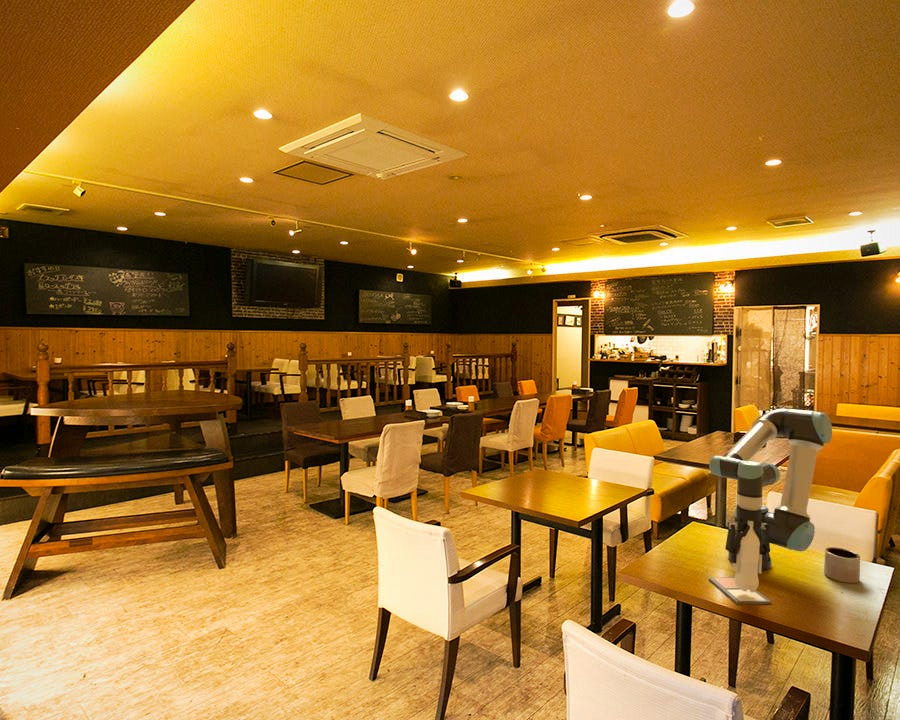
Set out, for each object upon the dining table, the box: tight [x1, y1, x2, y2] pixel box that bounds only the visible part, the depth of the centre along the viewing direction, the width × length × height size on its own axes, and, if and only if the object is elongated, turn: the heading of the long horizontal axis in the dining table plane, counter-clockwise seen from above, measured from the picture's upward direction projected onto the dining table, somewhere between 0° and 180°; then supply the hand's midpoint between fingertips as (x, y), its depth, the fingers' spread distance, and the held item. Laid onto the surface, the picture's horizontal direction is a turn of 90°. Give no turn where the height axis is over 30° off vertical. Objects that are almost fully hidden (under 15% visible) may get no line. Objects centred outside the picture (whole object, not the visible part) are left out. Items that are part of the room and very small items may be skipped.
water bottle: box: [734, 521, 760, 592], centre depth 181 cm, size 7×7×25 cm
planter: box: [823, 546, 861, 584], centre depth 197 cm, size 11×11×10 cm
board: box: [708, 576, 772, 605], centre depth 186 cm, size 12×18×1 cm, turn 2°
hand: (746, 571), depth 181 cm, fingers closed on water bottle, 7 cm apart
